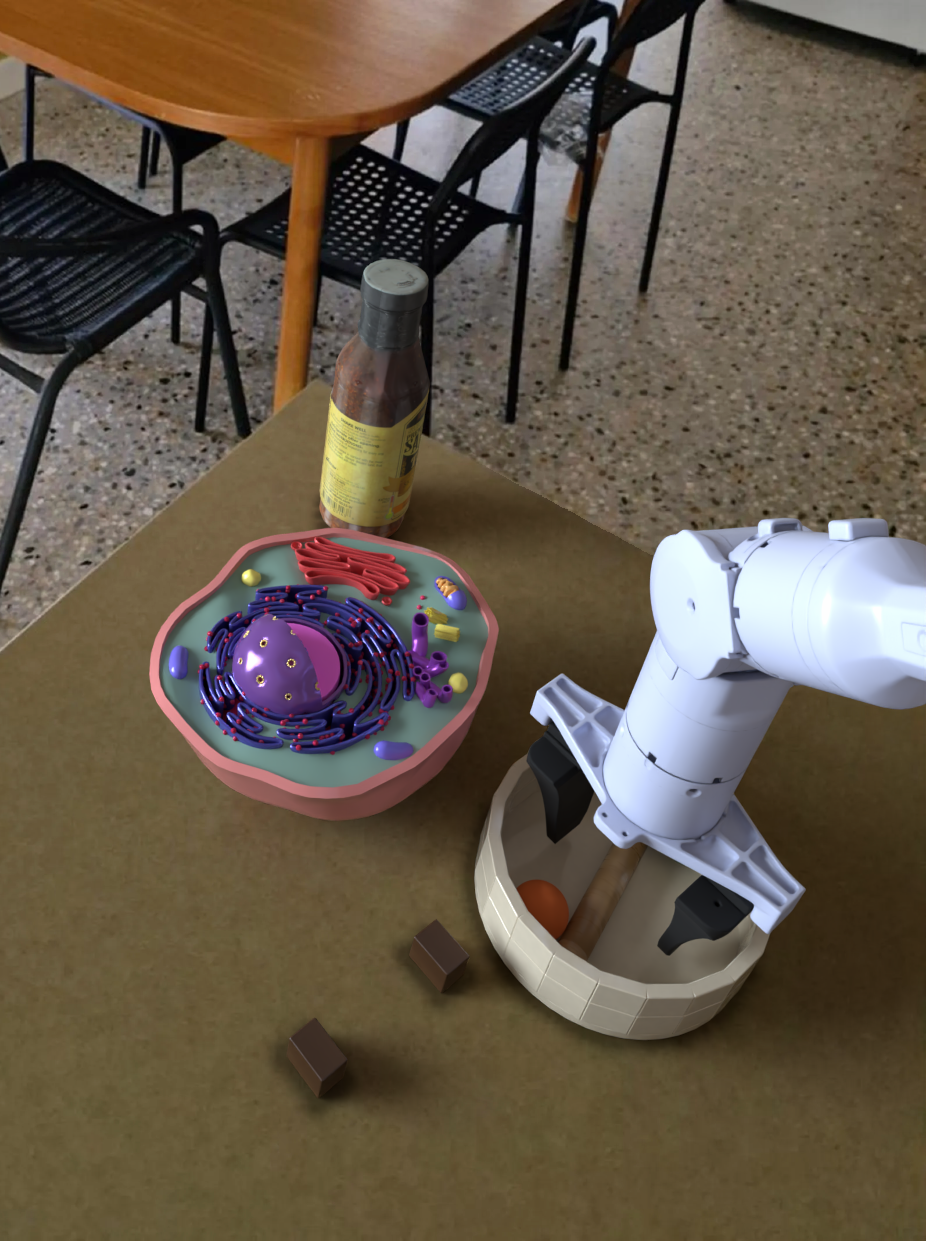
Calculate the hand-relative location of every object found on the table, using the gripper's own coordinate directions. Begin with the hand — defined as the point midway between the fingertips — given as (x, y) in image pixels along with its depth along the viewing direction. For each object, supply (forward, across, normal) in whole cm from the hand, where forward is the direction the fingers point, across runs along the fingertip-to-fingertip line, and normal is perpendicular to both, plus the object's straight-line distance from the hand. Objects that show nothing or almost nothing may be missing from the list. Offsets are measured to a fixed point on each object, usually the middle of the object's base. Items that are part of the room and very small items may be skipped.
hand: (616, 883), depth 65 cm
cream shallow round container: (+2, 0, 0) cm, 2 cm away
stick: (0, 0, 0) cm, 1 cm away
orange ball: (0, -1, -5) cm, 5 cm away
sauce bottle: (+2, -29, +8) cm, 30 cm away
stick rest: (+2, -3, -14) cm, 14 cm away
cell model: (+2, -17, -6) cm, 18 cm away
